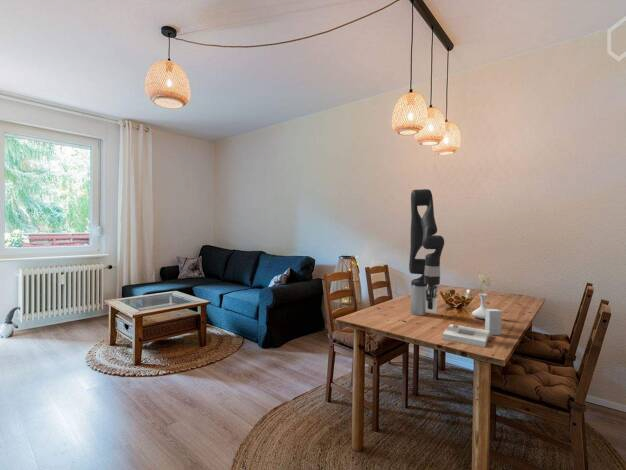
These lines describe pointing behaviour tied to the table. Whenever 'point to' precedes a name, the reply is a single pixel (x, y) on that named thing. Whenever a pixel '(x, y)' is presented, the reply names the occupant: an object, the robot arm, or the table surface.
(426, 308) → the plug
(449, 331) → the socket plate
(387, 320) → the table surface
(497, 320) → the skincare box
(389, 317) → the table surface
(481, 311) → the flower in vase
